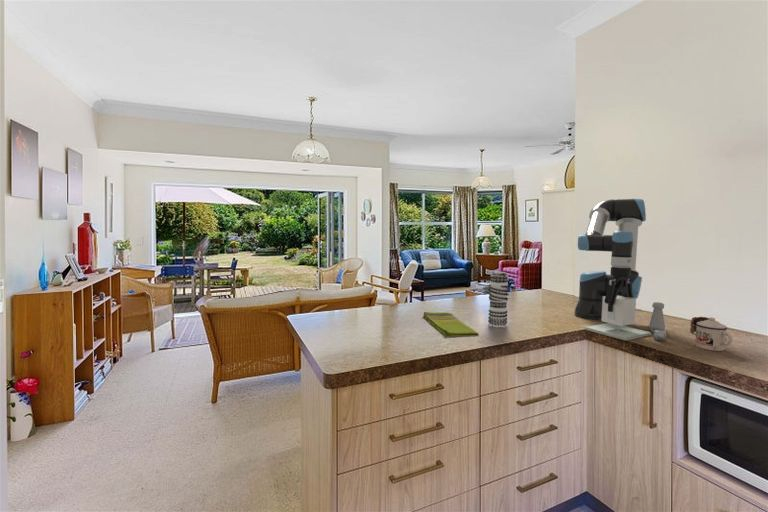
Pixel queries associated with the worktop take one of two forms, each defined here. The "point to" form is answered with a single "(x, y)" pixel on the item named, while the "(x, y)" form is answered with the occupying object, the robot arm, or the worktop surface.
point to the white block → (620, 311)
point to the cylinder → (660, 335)
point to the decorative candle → (498, 299)
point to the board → (618, 331)
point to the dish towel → (448, 324)
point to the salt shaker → (657, 317)
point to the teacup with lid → (712, 335)
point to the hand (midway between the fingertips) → (618, 317)
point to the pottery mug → (694, 322)
